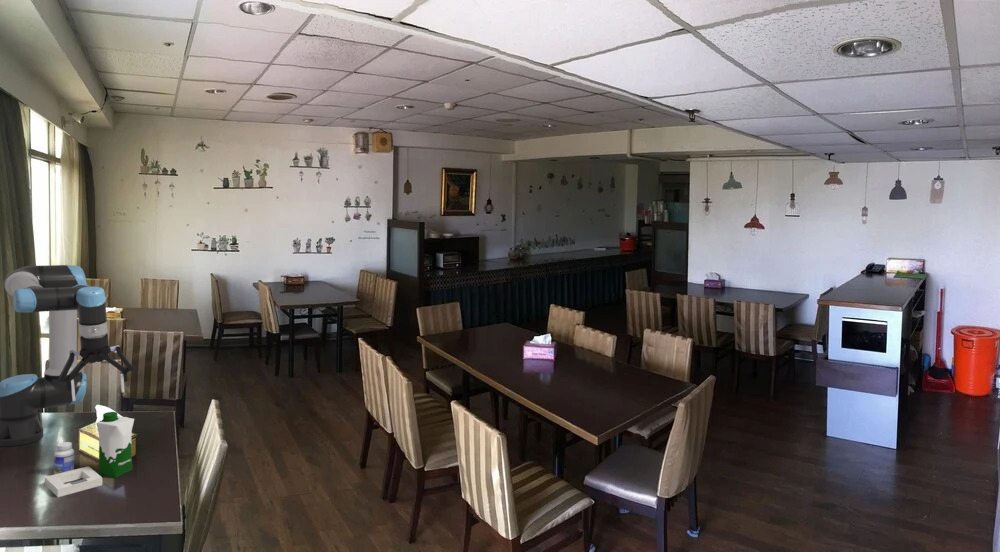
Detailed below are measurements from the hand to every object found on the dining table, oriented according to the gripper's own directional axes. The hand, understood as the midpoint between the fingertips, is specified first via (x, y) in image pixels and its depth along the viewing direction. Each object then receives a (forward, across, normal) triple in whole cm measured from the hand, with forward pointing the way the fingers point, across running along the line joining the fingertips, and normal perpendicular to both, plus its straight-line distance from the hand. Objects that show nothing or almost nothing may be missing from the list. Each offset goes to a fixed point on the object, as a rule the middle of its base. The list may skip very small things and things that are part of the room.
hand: (98, 395), depth 201 cm
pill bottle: (+26, -11, 0) cm, 28 cm away
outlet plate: (+24, -9, -11) cm, 28 cm away
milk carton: (+26, +2, -8) cm, 27 cm away
